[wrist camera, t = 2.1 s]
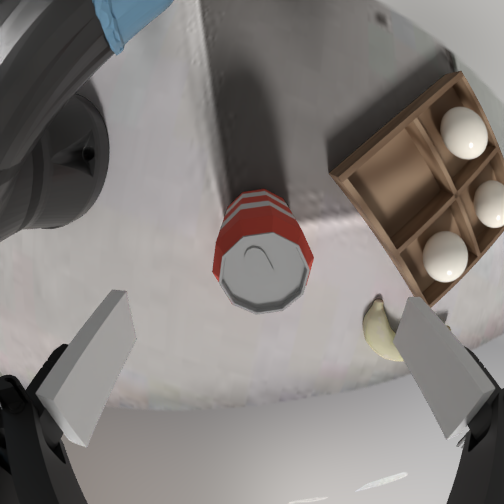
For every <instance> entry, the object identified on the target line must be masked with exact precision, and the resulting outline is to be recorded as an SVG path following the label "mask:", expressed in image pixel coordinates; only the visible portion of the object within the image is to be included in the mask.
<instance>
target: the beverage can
mask: <svg viewBox="0 0 504 504" xmlns="http://www.w3.org/2000/svg"><path fill="white" fill-rule="evenodd" d="M313 259H314V257H313V254H312V252H311V250H310V247H309V245H308V243H307V241H306V238H305V236H304V234H303V232H302V230H301V228H300V226H299V224H298V223H297V221H296V219H295V218H294V216H293V214H292V213H291V211H290V209H289V207H288V206H287V204H286V202H285V201H284V199H283V198H281V197H279V196H277V195H275V194H273V193H271V192H270V191H268V190H266V189H260V190H253V191H246V192H242V193H241V194H240V195H239V196H238V197H237V198H236V199H235V200H234V201H233V202H232V203H231V204H230V205H229V206H228V208H227V211H226V214H225V217H224V220H223V223H222V226H221V229H220V232H219V235H218V238H217V241H216V246H215V254H214V262H213V271H212V272H213V274H214V275H215V277H216V279H217V280H218V282H219V284H220V286H221V287H222V289H223V290H224V292H225V294H226V295H227V297H228V298H229V300H230V301H231V303H232V304H233V305H235V306H238V307H240V308H242V309H245V310H247V311H249V312H252V313H254V314H264V313H271V312H278V311H283V310H284V309H286V308H287V307H288V306H289V305H291V304H292V303H293V302H294V301H296V300H297V299H298V298H299V297H301V296H302V295H303V293H304V290H305V286H306V285H307V281H308V277H309V274H310V270H311V266H312V263H313Z"/></svg>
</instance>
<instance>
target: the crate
mask: <svg viewBox="0 0 504 504" xmlns="http://www.w3.org/2000/svg"><path fill="white" fill-rule="evenodd" d="M454 107H466V108H469V109H471V110H473V111H474V112H475V113H477V114H478V115H479V116H480V117H481V119H482V120H483V122H484V124H485V126H486V129H487V134H488V142H487V146H486V148H485V150H484V152H483V153H482V154H481V155H480V156H478V157H477V158H474V159H469V160H468V159H462V158H459V157H457V156H455V155H454V154H452V153H451V152H450V151H449V150H448V149H447V147H446V146H445V144H444V142H443V140H442V137H441V132H440V125H441V121H442V118H443V116H444V114H445V113H446V112H447V111H448V110H450V109H452V108H454ZM329 174H330V176H331V177H332V178H333V179H334V181H335V182H336V183H337V184H338V186H339V187H340V188H341V190H342V191H343V192H344V193H345V195H346V196H347V197H348V199H349V200H350V201H351V203H352V204H353V205H354V207H355V208H356V209H357V211H358V212H359V213H360V215H361V216H362V217H363V219H364V220H365V222H366V223H367V224H368V226H369V227H370V229H371V230H372V232H373V233H374V234H375V236H376V237H377V239H378V240H379V242H380V243H381V245H382V246H383V248H384V249H385V251H386V252H387V254H388V255H389V257H390V258H391V260H392V261H393V263H394V264H395V266H396V268H397V269H398V271H399V272H400V274H401V276H402V277H403V279H404V280H405V282H406V284H407V285H408V287H409V289H410V290H411V292H412V294H413V296H414V297H421V298H422V299H423V300H424V301H425V303H426V304H427V305H428V306H429V307H430V308H431V307H432V306H433V305H434V304H436V303H437V302H438V301H439V300H440V299H441V298H442V297H443V296H444V295H445V294H446V293H447V292H448V291H449V290H450V289H451V288H453V287H454V286H455V285H456V284H457V283H458V282H459V281H460V280H461V279H462V278H463V277H464V275H465V274H466V273H467V272H468V271H469V270H470V269H471V268H472V267H473V266H474V265H475V264H476V263H477V262H478V261H479V259H480V258H481V257H482V256H483V255H484V254H485V253H486V252H487V250H488V249H489V248H490V247H491V246H492V245H493V243H494V242H495V241H496V240H497V239H498V237H499V236H500V235H501V234H502V232H503V231H504V225H503V226H501V227H499V228H491V227H488V226H486V225H484V224H483V223H482V222H481V221H480V220H479V219H478V217H477V215H476V213H475V210H474V195H475V192H476V190H477V188H478V187H479V186H480V185H481V184H482V183H483V182H485V181H489V180H494V181H498V182H500V183H502V184H503V185H504V158H503V156H502V153H501V150H500V148H499V145H498V143H497V140H496V138H495V135H494V133H493V131H492V128H491V126H490V124H489V122H488V120H487V117H486V115H485V113H484V111H483V109H482V107H481V105H480V103H479V101H478V99H477V98H476V96H475V94H474V92H473V90H472V88H471V87H470V85H469V83H468V81H467V80H466V78H465V76H464V75H463V73H462V71H458V72H453V73H449V74H445V75H444V76H443V77H442V78H441V79H439V80H438V81H437V82H436V83H435V84H433V85H432V86H431V87H430V88H429V89H427V90H426V91H425V92H424V93H423V94H421V95H420V96H419V97H418V98H417V99H415V100H414V101H413V102H412V103H411V104H410V105H408V106H407V107H406V108H405V109H404V110H402V111H401V112H400V113H399V114H398V115H397V116H395V117H394V118H393V119H392V120H391V121H389V122H388V123H387V124H386V125H385V126H384V127H382V128H381V129H380V130H379V131H378V132H376V133H375V134H374V135H373V136H372V137H371V138H369V139H368V140H367V141H366V142H365V143H364V144H362V145H361V146H360V147H359V148H358V149H357V150H355V151H354V152H353V153H352V154H351V155H350V156H348V157H347V158H346V159H345V160H344V161H343V162H341V163H340V164H339V165H338V166H337V167H336V168H334V169H333V170H332V171H331V172H330V173H329ZM441 231H450V232H453V233H455V234H457V235H458V236H459V237H460V238H461V239H462V240H463V241H464V243H465V245H466V247H467V251H468V262H467V266H466V268H465V270H464V272H463V273H462V275H461V276H460V277H459V278H457V279H456V280H454V281H451V282H439V281H437V280H435V279H433V278H432V277H431V276H430V275H429V274H428V273H427V271H426V269H425V267H424V264H423V250H424V247H425V244H426V242H427V241H428V239H429V238H430V237H431V236H432V235H434V234H436V233H438V232H441Z"/></svg>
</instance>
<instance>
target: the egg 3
mask: <svg viewBox="0 0 504 504" xmlns="http://www.w3.org/2000/svg"><path fill="white" fill-rule="evenodd" d="M474 210H475V213H476V215H477V217H478V219H479V220H480V221H481V222H482V223H483V224H484V225H486V226H488V227H491V228H499V227H501V226H503V225H504V185H503V184H502V183H500V182H498V181H494V180H489V181H485V182H483V183H482V184H481V185H480V186H479V187H478V188H477V190H476V192H475V195H474Z"/></svg>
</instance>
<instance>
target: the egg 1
mask: <svg viewBox="0 0 504 504" xmlns="http://www.w3.org/2000/svg"><path fill="white" fill-rule="evenodd" d="M440 132H441V137H442V140H443V142H444V144H445V146H446V147H447V149H448V150H449V151H450V152H451V153H452V154H454V155H455V156H457V157H459V158H462V159H468V160H469V159H474V158H477V157H478V156H480V155H481V154H482V153H483V152H484V150H485V148H486V146H487V142H488V134H487V129H486V126H485V124H484V122H483V120H482V119H481V117H480V116H479V115H478V114H477V113H475V112H474V111H473V110H471V109H469V108H466V107H454V108H452V109H450V110H448V111H447V112H446V113H445V114H444V116H443V118H442V121H441V125H440Z"/></svg>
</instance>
